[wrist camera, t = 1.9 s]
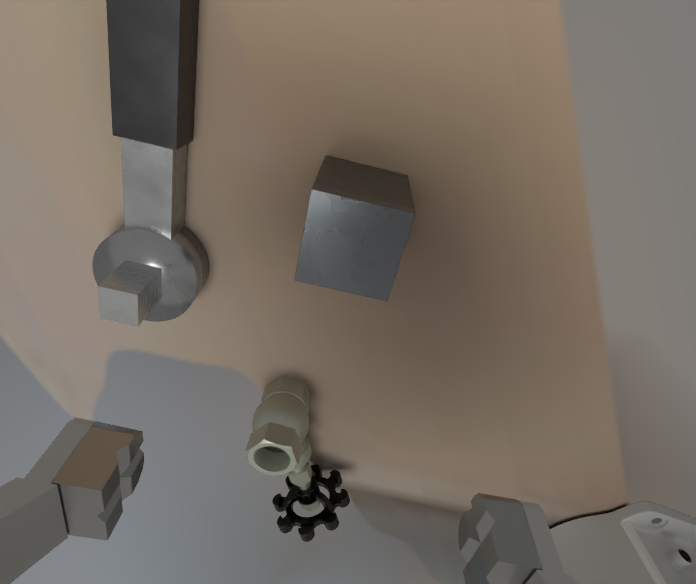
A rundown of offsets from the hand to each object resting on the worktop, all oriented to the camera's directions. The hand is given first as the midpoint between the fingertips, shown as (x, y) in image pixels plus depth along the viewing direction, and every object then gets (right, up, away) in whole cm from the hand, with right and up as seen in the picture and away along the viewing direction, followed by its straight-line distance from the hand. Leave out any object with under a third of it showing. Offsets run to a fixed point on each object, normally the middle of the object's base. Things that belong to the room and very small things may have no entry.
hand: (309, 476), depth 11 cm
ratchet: (-10, +12, +16) cm, 23 cm away
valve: (-3, -7, +27) cm, 29 cm away
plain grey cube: (+1, +10, +17) cm, 20 cm away
